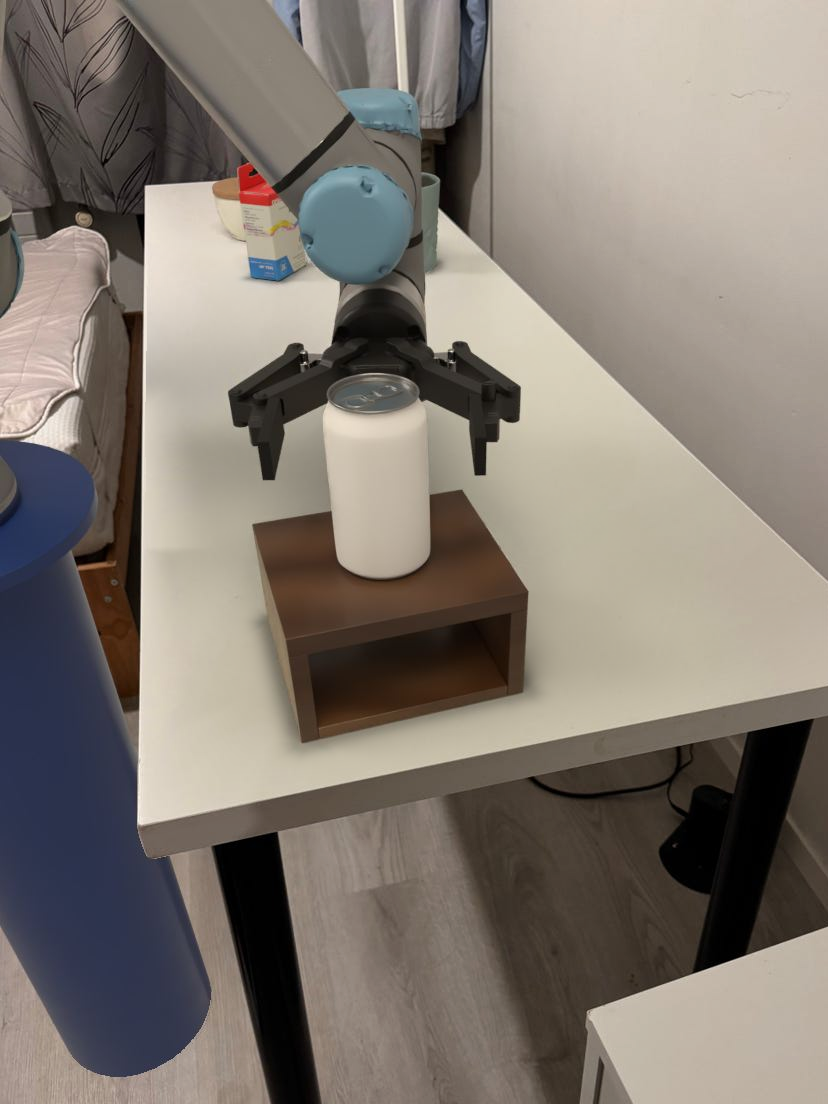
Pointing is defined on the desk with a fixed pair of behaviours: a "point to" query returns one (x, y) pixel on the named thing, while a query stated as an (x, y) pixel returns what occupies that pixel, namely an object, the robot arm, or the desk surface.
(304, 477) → the desk surface
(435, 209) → the green embossed cup
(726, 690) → the desk surface
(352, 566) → the can
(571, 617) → the desk surface
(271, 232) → the ink box
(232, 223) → the trinket box
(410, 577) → the shelf
